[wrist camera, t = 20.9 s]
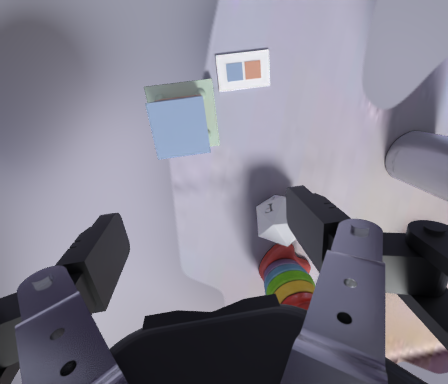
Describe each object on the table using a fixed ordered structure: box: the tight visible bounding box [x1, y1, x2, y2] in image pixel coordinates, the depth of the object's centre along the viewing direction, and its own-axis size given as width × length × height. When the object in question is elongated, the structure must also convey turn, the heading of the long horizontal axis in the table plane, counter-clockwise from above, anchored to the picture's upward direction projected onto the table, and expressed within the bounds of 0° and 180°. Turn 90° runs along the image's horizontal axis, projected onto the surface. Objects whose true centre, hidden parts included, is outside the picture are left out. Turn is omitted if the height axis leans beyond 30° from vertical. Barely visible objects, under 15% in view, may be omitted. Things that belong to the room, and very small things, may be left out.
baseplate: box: [144, 79, 220, 147], centre depth 38 cm, size 10×10×1 cm
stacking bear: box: [259, 243, 315, 310], centre depth 44 cm, size 11×10×18 cm
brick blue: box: [146, 95, 211, 159], centre depth 29 cm, size 6×6×6 cm
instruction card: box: [216, 49, 270, 92], centre depth 37 cm, size 8×5×1 cm, turn 96°
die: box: [256, 195, 296, 247], centre depth 43 cm, size 8×9×10 cm
